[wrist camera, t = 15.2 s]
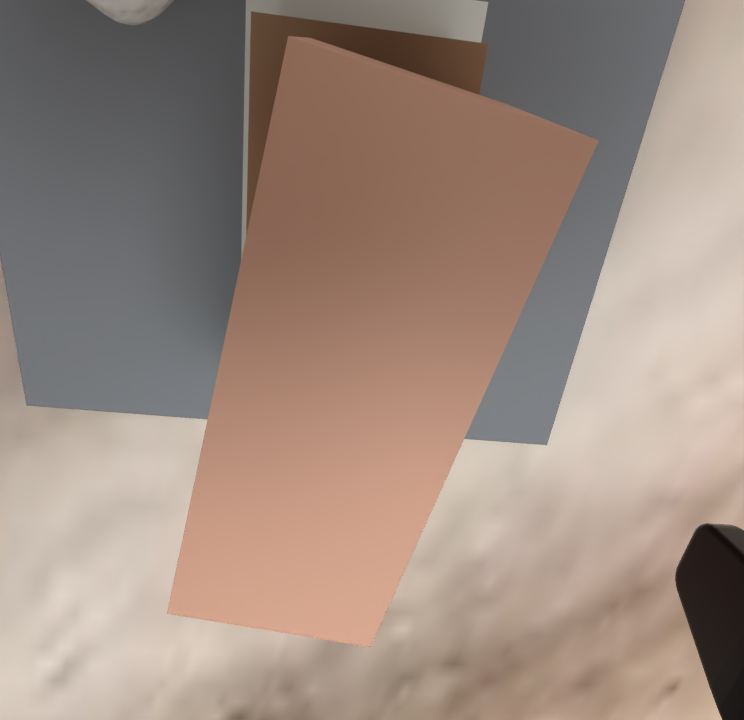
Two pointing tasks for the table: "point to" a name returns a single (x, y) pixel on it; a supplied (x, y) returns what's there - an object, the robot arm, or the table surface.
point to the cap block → (361, 335)
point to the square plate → (131, 9)
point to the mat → (229, 184)
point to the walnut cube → (400, 49)
